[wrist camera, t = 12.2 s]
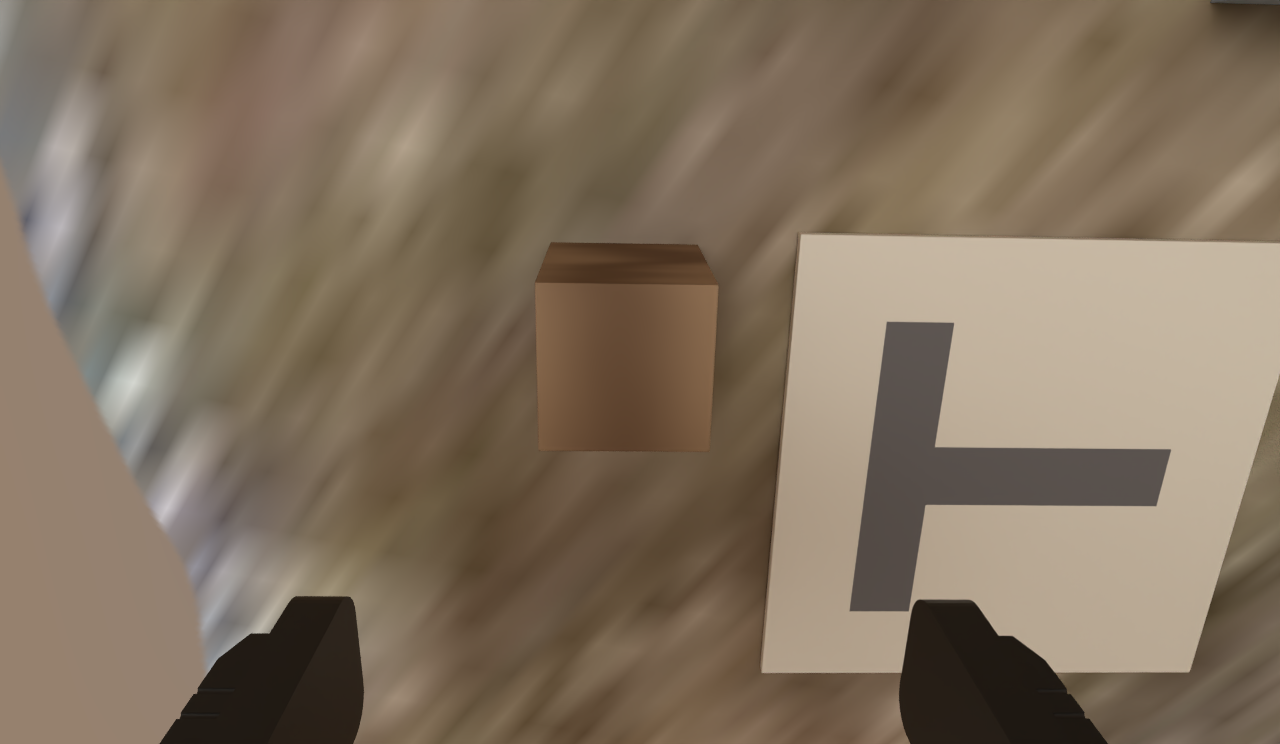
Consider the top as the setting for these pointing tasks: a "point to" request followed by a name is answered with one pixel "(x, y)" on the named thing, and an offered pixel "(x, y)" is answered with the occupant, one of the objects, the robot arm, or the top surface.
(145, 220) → the top surface
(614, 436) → the walnut block
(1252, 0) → the slate cube
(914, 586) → the board
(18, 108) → the top surface
